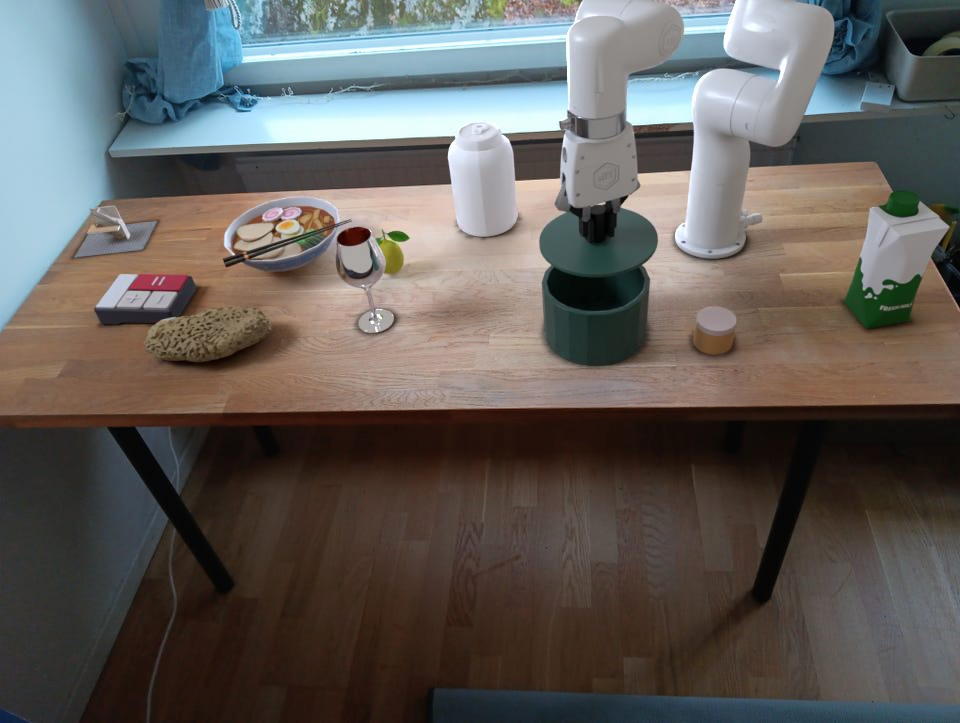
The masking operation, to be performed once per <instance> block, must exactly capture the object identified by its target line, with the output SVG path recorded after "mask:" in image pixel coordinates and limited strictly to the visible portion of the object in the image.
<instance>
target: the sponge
mask: <svg viewBox="0 0 960 723" xmlns="http://www.w3.org/2000/svg"><path fill="white" fill-rule="evenodd" d="M271 323H272V321H271V320H270V318H269V317H268V315H267V316H266V314H265V312H263V311H262V310H260V309H259V308H258V307H252V306H251V307H250V306H244V305H243V306H241V305H240V306H230V307H229V306H228V307H226V306H223V307H217V308H215V309H214V308H212V309H206V310H203V311H201V312H199V313H197V314H191V315H182V316H179V317H177V318H176V317H172V318H167V319H163V320H160V321H159V322H157V323H154V325H152V326H151V327H150V329H149V330H148V331H147V336H146V338H145V339H143V345H144V346H145V351H146V352H147V353H148V354H149V355H151V357H153V358H157V359H158V360H163V361H165V362H166V361H168V362H169V361H170V362H171V361H172V362H173V361H174V362H179V361H188V362H193V363H203V362H209V361H215V360H219V359H220V358H221V359H224V358H226V357H230V356H232V355H234V354H235V353H237V352H238V351H241V350H243V349H245V348H247V347H251V346H253V345H256V344H258V343H259V342H260V341H261V340H263V339H265V338H266V337H267V336H269V334H270V333H271V332H272V324H271Z"/></svg>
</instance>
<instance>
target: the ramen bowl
mask: <svg viewBox="0 0 960 723" xmlns="http://www.w3.org/2000/svg"><path fill="white" fill-rule="evenodd" d="M352 222H353V220H352V218H350V219H346V220H343V221H341V220H340V216H339V210H338V208H337V207H336V206H335V205H333V203H330V201H328V200H326V199H322V198H318V197H314V196H311V195H310V196H305V195H304V196H287V197H283V198H278V199H272V200H267V201H266V202H264V203H260V204H259V205H256V206H254V207H252V208H250V209H247V210H246V211H245V212H243V213H242V214H241V215H239V216H238V217H236V218H235V219H234V220H232V221H231V223H230V225H229V226H228V228H227V229H226V230H225V232H224V234H223V247H224V248H225V249H226V250H227V251H228V252H229V253H230V256H226V257H224V258H222V261H223V264H224V267H225V268H229V267H233V266H235V265H237V264H241V263H242V264H244V265H246V266H248V267H251V268H252V269H253V268H254V269H257V270H260V271H263V272H287V271H292V270H297V269H301V268H302V267H304V266H307V265H309V264H311V263H312V262H314V261H316V260H317V259H318V258H319V257H321V255H323V254H324V253H325V252H327V250H328V249H329V247H330V246H331V243H332V241H333V239H334V237H335V235H336V233H337V230H338V228H339V227H341V226H343V225H346V224H349V223H352Z"/></svg>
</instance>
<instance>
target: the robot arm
mask: <svg viewBox="0 0 960 723" xmlns="http://www.w3.org/2000/svg"><path fill="white" fill-rule="evenodd" d="M684 33H685V23H684V19H683V17H682V15H681V13H680V12H679V10H677V8H675V7H674V6H672V5H670V4H667V3H665V2H661V1H657V0H582V1H581V3H580V5H579V7H578V9H577V11H576V16H575V19H574V23H573V24H572V25H571V26H570V27H569V29H568V32H567V35H566V62H567V63H566V65H567V68H566V69H567V96H568V108H567V110H566V117H564V118H563V119H559V120H558V122H559V123H558V125H559V129H560V131H564V135H563V141H562V146H561V155H560V168H559V169H560V170H559V172H560V173H559V180H560V181H559V182H560V184H559V185H560V189H559V192H558V194H557V196H556V199H555V201H554V207H555V208H556V209H557V211H559V212H563V213H566V212H571V213H573V214H574V215H576V216H577V217H579V233H580V235H581V236H582V237H584V238H585V239H586V240H587V242H588V243H589V244H590V243H593V242H594V221H593V219H592V218H591V215H590V213H591V206H593V205H600V204H602V203H604V204H602V205H603V206H605V207H606V208H607V235H608V236H609V237H614V236H615V228H616V227H617V213H618V212H619V211H620V209H621V208H622V205H623V204H624V203H625V202H626V201H627V199H628V198H629V196H631V195H632V194H633V193H635V192H637V191H638V190H639V189H640V188H641V187H642V186H641V183H640V181H639V179H638V176H639V174H638V173H639V172H638V153H637V144H636V137H635V132H634V127H633V125H632V123H631V122H629V121H628V120H627V118H628V117H627V116H628V87H629V86H628V82H629V81H628V80H629V76H630V75H632V74H635V73H639V72H641V71H645V70H649V69H652V68H656V67H658V66H660V65H662V64H664V63H665V62H667V61H669V60H670V59H671V58H672V57H673V56H674V55H675V53H676V52H677V51H678V49H679V48H680V46H681V44H682V42H683V39H684ZM834 37H835V19H834V17H833V15H832V13H831V12H830V11H829V10H828V9H827V8H824V7H823V6H819V5H816V4H813V3H805V2H799V1H797V0H735V2H734V5H733V8H732V11H731V14H730V17H729V20H728V23H727V26H726V30H725V34H724V37H723V48H724V50H725V53H726V54H727V55H728V57H729V56H730V57H731V58H732V59H734V60H737V61H740V62H743V63H747V64H751V65H755V66H759V67H764V68H767V69H772V70H776V71H780V73H779V78H778V79H775V78H770V77H766V76H762V75H760V74H755V73H751V72H747V71H742V70H738V69H733V68H716V69H712V70H710V71H708V72H707V73H705V74H704V75H703V76H701V78H700V79H699V80H698V82H697V83H696V85H695V87H694V89H693V92H692V98H691V113H692V114H691V115H692V116H691V117H692V124H693V125H692V126H693V147H692V159H691V160H692V161H691V168H690V177H689V186H688V196H687V203H686V204H687V205H686V213H685V221H683V222H682V223H681V224H680V225H679V226H677V228H676V229H675V230H676V231H675V233H674V234H675V236H674V240H675V243H676V245H677V246H678V247H679V248H680V250H682V251H683V252H685V253H687V254H689V255H691V256H693V257H698V258H700V259H707V260H708V259H713V260H714V259H715V260H716V259H723V258H728V257H732V256H733V255H736V254H737V253H739V252H740V251H741V250H742V249H743V248H744V246H745V244H746V239H747V237H746V236H747V235H746V232H745V231H744V230H747V229H748V227H750V226H756V225H759V224H761V223H763V220H764V219H763V215H762V214H761V213H760V212H757V213H753V214H750V215H749V211H748V209H743V203H744V197H745V192H746V186H747V181H748V174H749V168H750V163H751V147H750V142H752V143H756V144H760V145H764V146H766V147H771V148H773V147H774V148H775V147H782V146H784V145H786V144H787V143H789V142H790V141H791V140H792V139H793V137H794V136H795V135H796V134H797V131H798V130H799V128H800V125H801V123H802V121H803V119H804V116H805V115H806V112H807V109H808V106H809V105H810V103H811V99H812V97H813V94H814V92H815V89H816V87H817V84H818V82H819V80H820V77H821V75H822V72H823V69H824V67H825V65H826V63H827V60H828V57H829V54H830V53H831V52H830V51H831V49H832V45H833V42H834Z"/></svg>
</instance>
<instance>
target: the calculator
mask: <svg viewBox="0 0 960 723" xmlns="http://www.w3.org/2000/svg"><path fill="white" fill-rule="evenodd" d="M196 290H197V286H196V284H195V281H194V278H193V276H192V275H188V274H165V273H163V274H161V273H160V274H159V273H139V274H135V273H134V274H133V273H132V274H131V273H120V274H119V275H118V276H117V277H116V279H115V280H114V281H113V283H112V284H111V285H110V286H109V288H108V289H107V291H105V293H104V294H103V296H102V297H101V298H100V300H99V301H98V302H97V304H96V305H95V307H94V308H93V311H94V314H95V315H96V317H97V318H98V320H99V323H100V324H101V325H117V326H118V325H121V324H122V323H133V324H156V323H157V322H159V321H160V320H163V319H167V318H172V317H176V318H177V317H181V314H182V313H183V311H184V309H185V308H186V306H187V305H188V303H189V301H190V300H191V298H192V296H193V295H194V293H195V292H196Z"/></svg>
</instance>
